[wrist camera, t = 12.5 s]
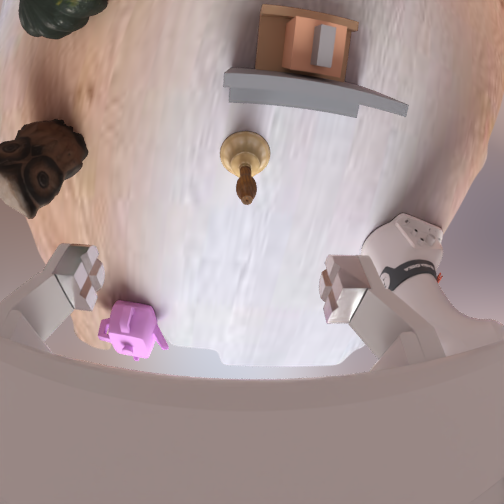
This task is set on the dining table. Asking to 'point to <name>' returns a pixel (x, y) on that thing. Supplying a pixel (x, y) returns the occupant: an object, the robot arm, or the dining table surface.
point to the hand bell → (245, 161)
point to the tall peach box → (314, 46)
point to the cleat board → (300, 73)
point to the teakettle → (132, 329)
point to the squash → (57, 16)
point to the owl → (39, 164)
